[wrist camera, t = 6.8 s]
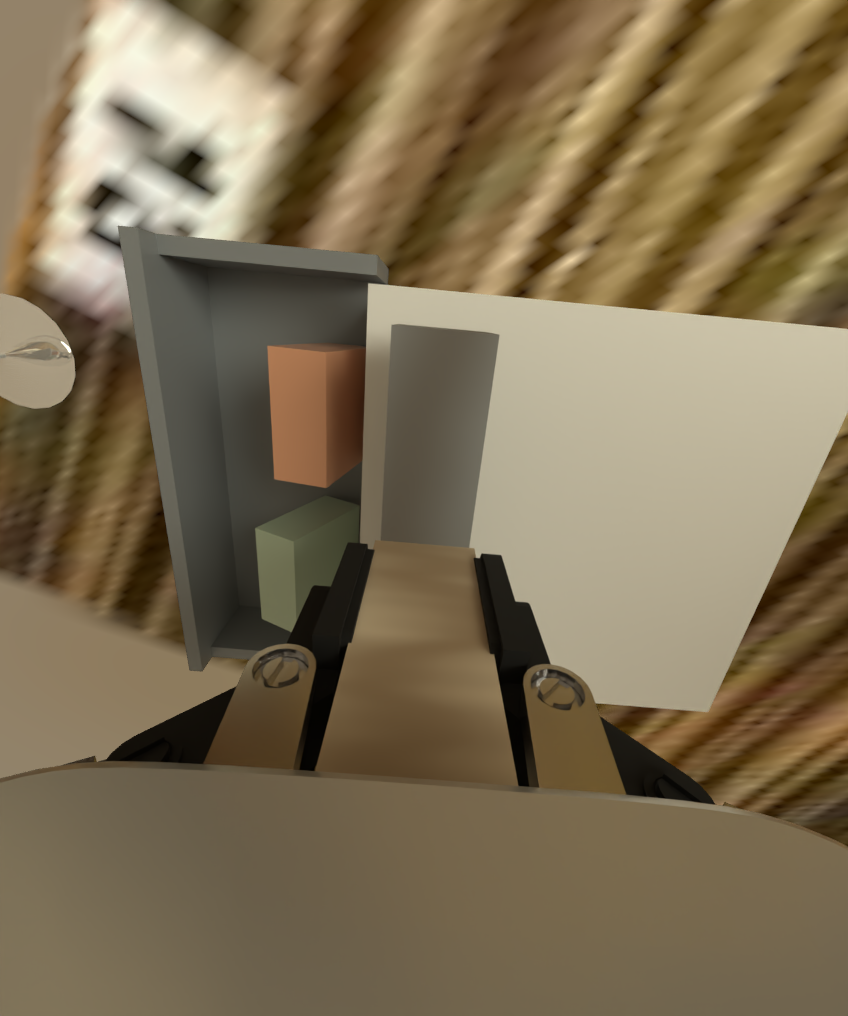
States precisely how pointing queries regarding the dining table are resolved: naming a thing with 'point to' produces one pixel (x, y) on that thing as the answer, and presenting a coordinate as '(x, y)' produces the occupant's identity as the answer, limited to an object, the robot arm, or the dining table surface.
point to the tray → (230, 407)
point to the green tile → (302, 555)
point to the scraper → (425, 583)
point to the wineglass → (32, 356)
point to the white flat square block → (630, 473)
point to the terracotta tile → (316, 410)
